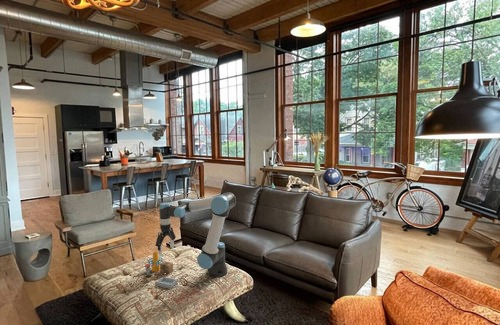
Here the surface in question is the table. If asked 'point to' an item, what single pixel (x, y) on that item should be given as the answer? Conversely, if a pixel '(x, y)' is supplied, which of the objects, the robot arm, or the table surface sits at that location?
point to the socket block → (148, 278)
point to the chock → (166, 267)
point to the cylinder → (155, 261)
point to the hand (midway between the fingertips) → (166, 251)
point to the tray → (166, 282)
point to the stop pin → (148, 270)
